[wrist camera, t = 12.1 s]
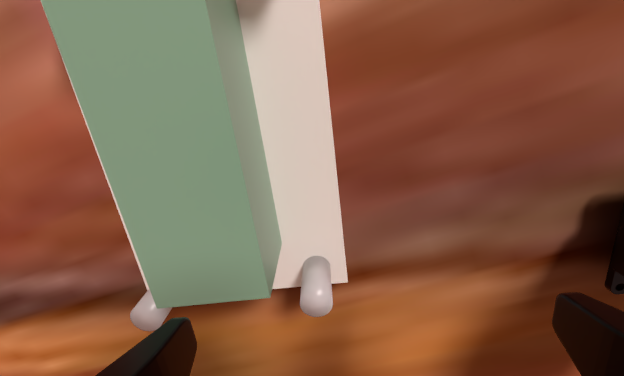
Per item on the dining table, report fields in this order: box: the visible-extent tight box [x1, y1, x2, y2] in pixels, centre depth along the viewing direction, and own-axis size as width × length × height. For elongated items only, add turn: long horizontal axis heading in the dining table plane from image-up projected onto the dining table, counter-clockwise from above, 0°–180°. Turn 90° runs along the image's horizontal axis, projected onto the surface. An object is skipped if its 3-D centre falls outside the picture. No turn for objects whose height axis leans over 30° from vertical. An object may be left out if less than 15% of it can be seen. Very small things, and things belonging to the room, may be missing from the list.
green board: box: [41, 0, 282, 309], centre depth 13 cm, size 5×12×4 cm, turn 8°
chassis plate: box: [41, 0, 348, 331], centre depth 15 cm, size 12×18×4 cm, turn 7°
